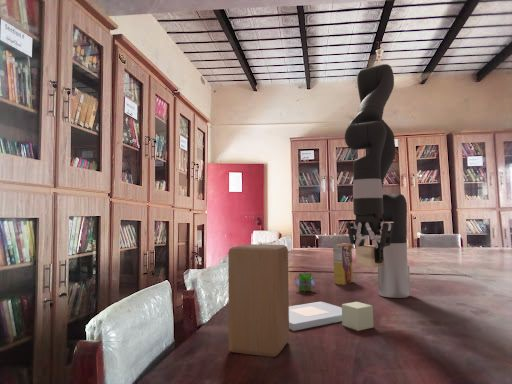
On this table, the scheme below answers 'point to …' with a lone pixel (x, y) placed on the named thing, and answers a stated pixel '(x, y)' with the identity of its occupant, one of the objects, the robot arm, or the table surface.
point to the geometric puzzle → (305, 282)
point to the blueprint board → (313, 315)
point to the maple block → (367, 256)
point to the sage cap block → (357, 315)
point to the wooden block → (258, 299)
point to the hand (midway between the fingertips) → (370, 261)
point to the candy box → (342, 263)
